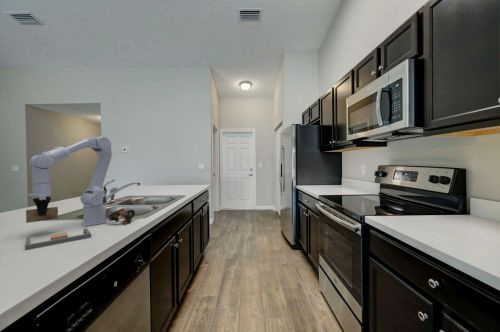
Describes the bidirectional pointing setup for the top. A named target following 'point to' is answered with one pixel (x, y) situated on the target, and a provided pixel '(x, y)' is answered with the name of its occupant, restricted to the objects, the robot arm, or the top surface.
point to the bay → (57, 240)
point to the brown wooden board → (50, 214)
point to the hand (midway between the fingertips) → (42, 214)
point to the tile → (59, 236)
